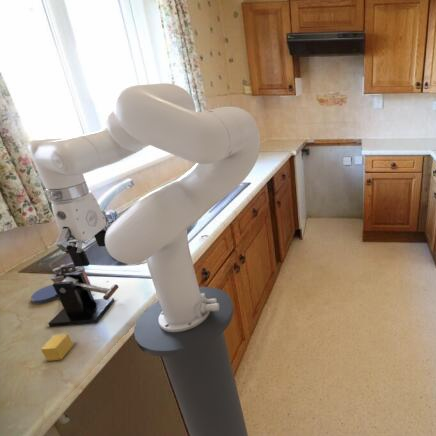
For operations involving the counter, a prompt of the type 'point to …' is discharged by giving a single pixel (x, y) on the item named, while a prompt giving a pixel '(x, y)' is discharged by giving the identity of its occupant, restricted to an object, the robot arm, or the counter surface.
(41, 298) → the dish
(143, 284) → the counter surface
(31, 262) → the counter surface
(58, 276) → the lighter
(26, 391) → the counter surface
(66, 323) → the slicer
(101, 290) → the lever
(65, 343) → the butter
